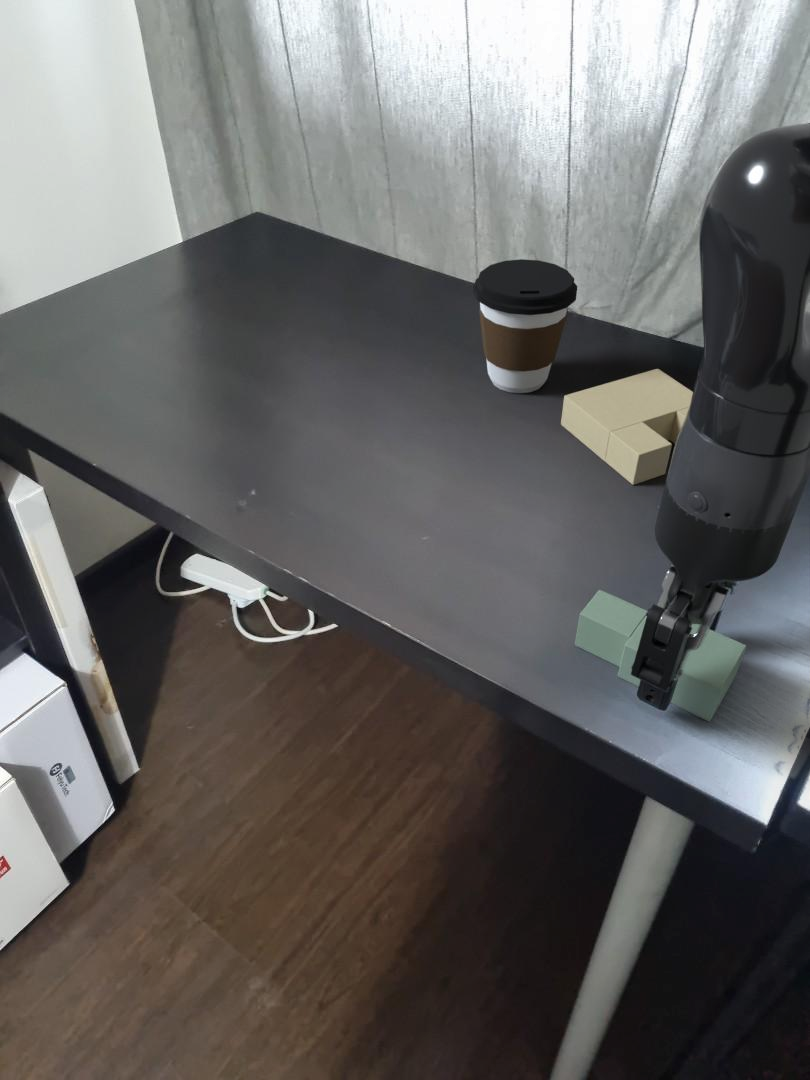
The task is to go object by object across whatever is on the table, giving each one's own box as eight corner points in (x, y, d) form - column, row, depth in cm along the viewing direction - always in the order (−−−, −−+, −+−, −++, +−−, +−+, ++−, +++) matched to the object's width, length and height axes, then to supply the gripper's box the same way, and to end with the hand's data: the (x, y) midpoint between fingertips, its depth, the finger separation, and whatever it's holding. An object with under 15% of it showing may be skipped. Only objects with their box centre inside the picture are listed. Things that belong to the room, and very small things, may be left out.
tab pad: (735, 677, 60) (747, 645, 58) (709, 722, 57) (721, 690, 55) (598, 614, 66) (604, 582, 63) (568, 652, 63) (573, 620, 60)
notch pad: (729, 452, 82) (738, 422, 80) (632, 485, 78) (639, 455, 76) (651, 396, 90) (657, 368, 88) (560, 424, 87) (564, 395, 84)
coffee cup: (572, 404, 89) (587, 299, 82) (472, 405, 90) (476, 300, 82) (559, 356, 98) (571, 256, 90) (467, 356, 98) (470, 257, 90)
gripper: (754, 577, 43) (688, 758, 54) (831, 450, 52) (761, 628, 62) (622, 524, 47) (584, 704, 57) (715, 413, 55) (667, 587, 66)
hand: (676, 664), depth 60 cm, fingers open, 8 cm apart
